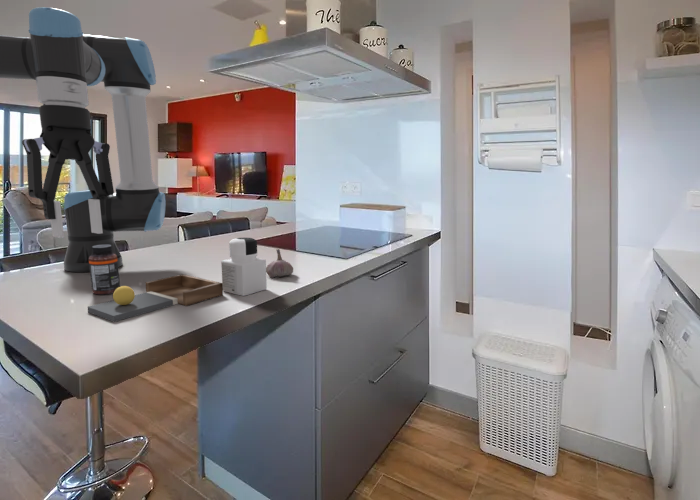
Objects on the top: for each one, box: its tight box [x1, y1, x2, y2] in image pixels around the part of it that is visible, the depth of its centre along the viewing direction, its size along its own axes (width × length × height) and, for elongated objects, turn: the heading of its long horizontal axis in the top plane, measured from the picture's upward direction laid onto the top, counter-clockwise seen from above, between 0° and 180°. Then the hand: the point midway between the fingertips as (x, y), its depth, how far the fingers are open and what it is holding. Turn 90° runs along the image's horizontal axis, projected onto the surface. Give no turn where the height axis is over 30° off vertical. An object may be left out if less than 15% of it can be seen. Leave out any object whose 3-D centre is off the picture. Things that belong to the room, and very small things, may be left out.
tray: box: [145, 273, 224, 307], centre depth 100 cm, size 15×10×3 cm, turn 57°
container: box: [221, 237, 268, 297], centre depth 103 cm, size 8×8×13 cm
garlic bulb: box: [266, 248, 294, 279], centre depth 119 cm, size 8×7×8 cm
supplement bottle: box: [89, 245, 121, 296], centre depth 101 cm, size 6×6×11 cm
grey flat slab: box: [87, 291, 179, 323], centre depth 90 cm, size 10×14×1 cm
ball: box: [112, 285, 136, 305], centre depth 88 cm, size 4×4×4 cm
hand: (78, 234), depth 79 cm, fingers open, 6 cm apart
